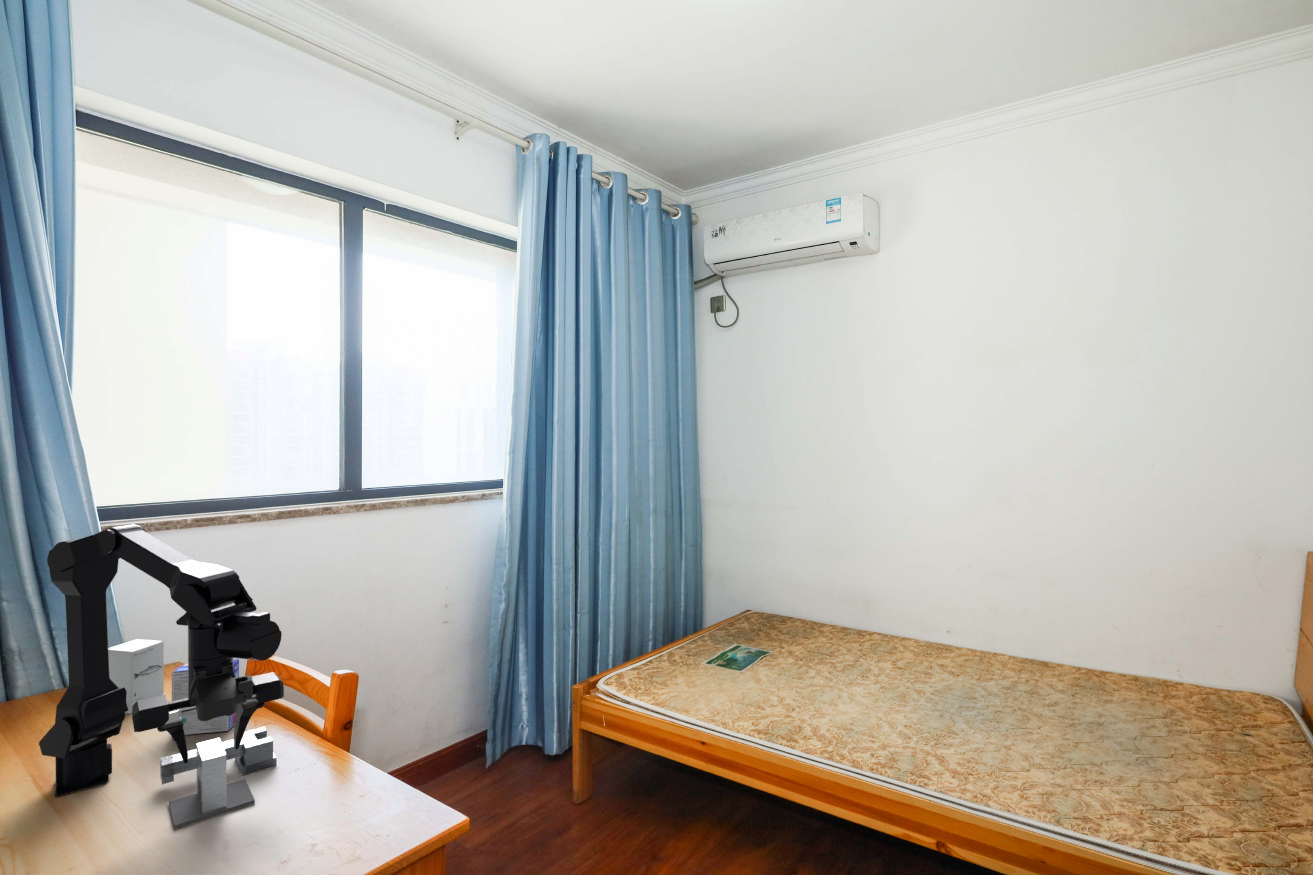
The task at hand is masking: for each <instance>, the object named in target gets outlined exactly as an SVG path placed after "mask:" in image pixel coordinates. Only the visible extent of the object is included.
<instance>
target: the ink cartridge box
mask: <svg viewBox="0 0 1313 875" xmlns="http://www.w3.org/2000/svg"><path fill="white" fill-rule="evenodd" d="M239 659H240V658H233V672H234V674H235V677H240V660H239ZM184 698H188V663H183V664H181V666H179V667H177V668H176V669H175V670H174V671H172V672H171V701H175V700H179V699H184ZM235 714H236V713H234V714H233V715H230V716H221V717H217V718H213V719H211V720H209V721H200V720H198V717H197V710H196V709H195V710H191V711H186V712H182V713H181V719H182V722H183V726H184V734H185V736H189V735H196V734H197V735H199V734H208V733H219V732H228V731H229V732H230V730H231V729H232V728H233V727H235Z"/></svg>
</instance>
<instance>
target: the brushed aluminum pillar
mask: <svg viewBox="0 0 1313 875" xmlns="http://www.w3.org/2000/svg"><path fill="white" fill-rule="evenodd" d="M222 742H223V741H221V738H220V737H216V738H211V739H208V740H205V741H201V742H197V743H196V747H195V749H197V769H196V793H197V797H198V799H199V798H201V811H202V814H206V813H209V812H213V811H216V810H219V809H222V808H225V807H227V784H228V783H227V772H228V770H227V760H226V752H225V750H224V747H223V745H222Z"/></svg>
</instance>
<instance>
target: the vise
mask: <svg viewBox="0 0 1313 875" xmlns="http://www.w3.org/2000/svg"><path fill="white" fill-rule="evenodd" d="M221 742H222V745H223V747H224V750H225V752H226V761H228V760H233V759H234V760H235V763H236V765H237V768H238V770H239V772H240V774H241V776H243V777H244V776H247V775H250V774H254V773H257V772H260V771H265V770H268V769H272V768H274V767H277V766H278V765H277V759H278V758H277V756H276V754H275V752H274V740H273V737H271V736H268V729H267V728H266V726H265V725H264V726H261V727H256V728H253V729H249V730H245V732H244V735H243V738H242V740H241V743H240V746H239V748H238V749H237V750H235V748H234V738H232V739H229V740H225V741H221ZM187 751H188V763H184V761H183V759H182V756H181V754H180V752H179V753H175V754H171V755H166V756H164V757H160V758H159V762H160V763H159V764H160V765H159V766H160V768H159V769H160V772H159V773H160V774H159V776H160V777H159V778H160V780H161V785H165V784H168V783H169V784H170V783H172V782H174V781H175V775H179V774H181V773H185V772H188V771H192V770H197V749H196V748H195V749H191V750H187Z"/></svg>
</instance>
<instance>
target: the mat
mask: <svg viewBox="0 0 1313 875" xmlns="http://www.w3.org/2000/svg"><path fill="white" fill-rule="evenodd" d="M255 804H256V801H255V797H254V795H253V793H252V791H251V789H250V786H249V784H248V782H247V780H246V778H242V779H239V780H236V781H233V782H229V783H227V807H225V808H222V809H219V810H216V811H213V812H209V813H206V814H202V811H201V798H199V799H198V797H197V792H196V793H192V794H189V795H186V796H183V797H179V798H175V799H172V800H170V801H168V807H169V808H168V809H169V813H170V817H171V822H172V826H173V830H174V831H175V830H178V829H181V828H184V827H186V826H190V825H194V824H197V823H200V822H202V821H206V820H208V819H212V818H215V817H217V816H221V815H224V814H227V813H231V812H234V811H237V810H240V809H243V808H246V807H249V806H252V805H255Z"/></svg>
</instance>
